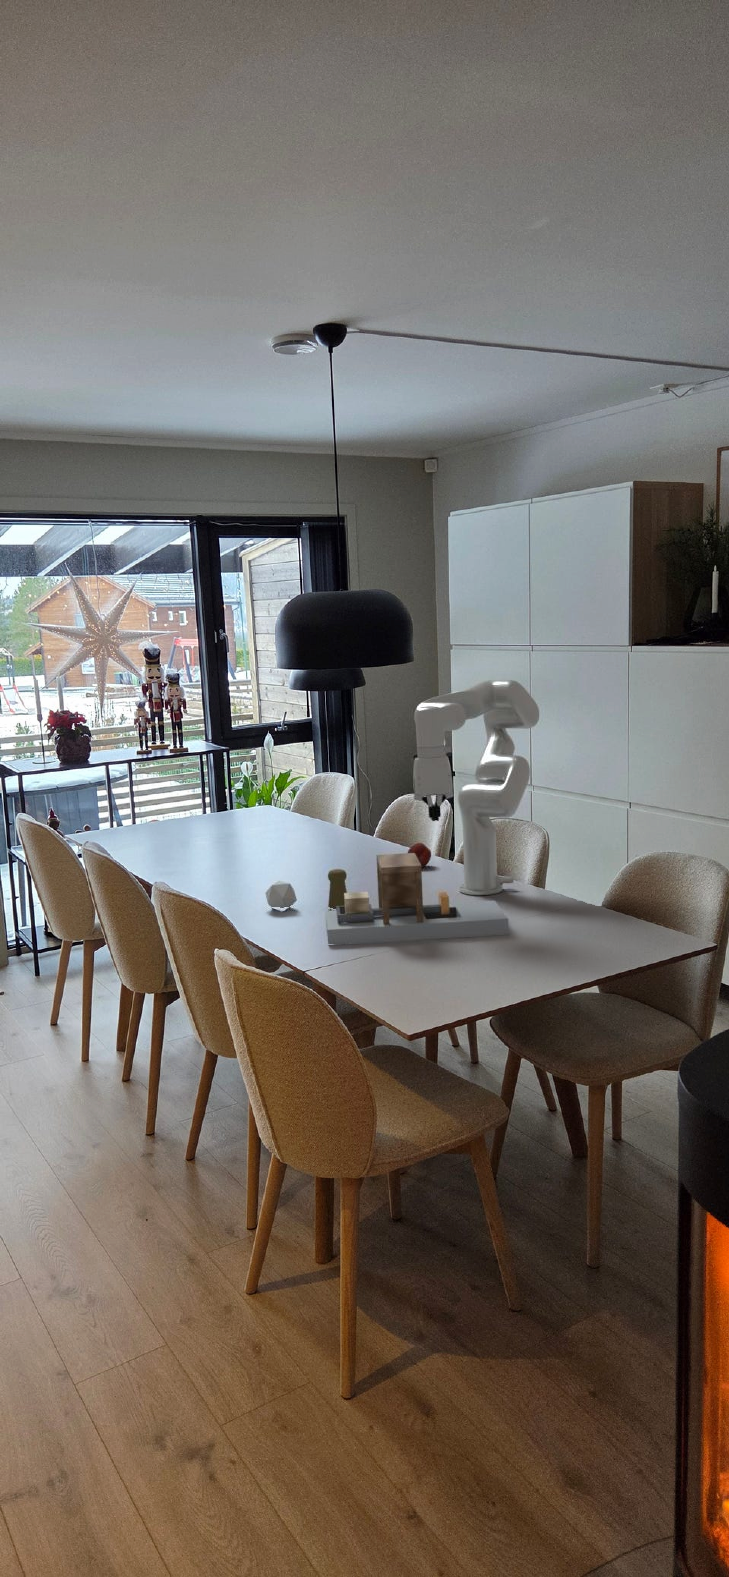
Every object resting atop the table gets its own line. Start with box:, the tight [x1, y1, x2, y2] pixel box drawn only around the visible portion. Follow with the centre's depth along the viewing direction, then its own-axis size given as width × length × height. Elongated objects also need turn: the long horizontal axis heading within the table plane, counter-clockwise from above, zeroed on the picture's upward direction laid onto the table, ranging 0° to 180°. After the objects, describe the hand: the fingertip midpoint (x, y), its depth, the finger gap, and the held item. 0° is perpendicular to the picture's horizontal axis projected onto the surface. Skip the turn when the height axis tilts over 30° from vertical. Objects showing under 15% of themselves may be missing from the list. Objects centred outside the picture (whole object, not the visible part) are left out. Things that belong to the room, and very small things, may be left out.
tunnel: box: [376, 852, 424, 925], centre depth 265 cm, size 10×15×14 cm, turn 4°
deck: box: [325, 900, 509, 945], centre depth 266 cm, size 45×18×4 cm, turn 94°
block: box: [344, 891, 370, 914], centre depth 265 cm, size 6×6×6 cm
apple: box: [407, 842, 432, 868], centre depth 337 cm, size 7×8×8 cm
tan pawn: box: [327, 868, 348, 909], centre depth 291 cm, size 6×6×11 cm
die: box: [265, 880, 298, 908], centre depth 292 cm, size 8×9×10 cm
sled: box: [336, 891, 450, 923], centre depth 265 cm, size 28×9×4 cm, turn 94°
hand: (434, 819), depth 280 cm, fingers closed
